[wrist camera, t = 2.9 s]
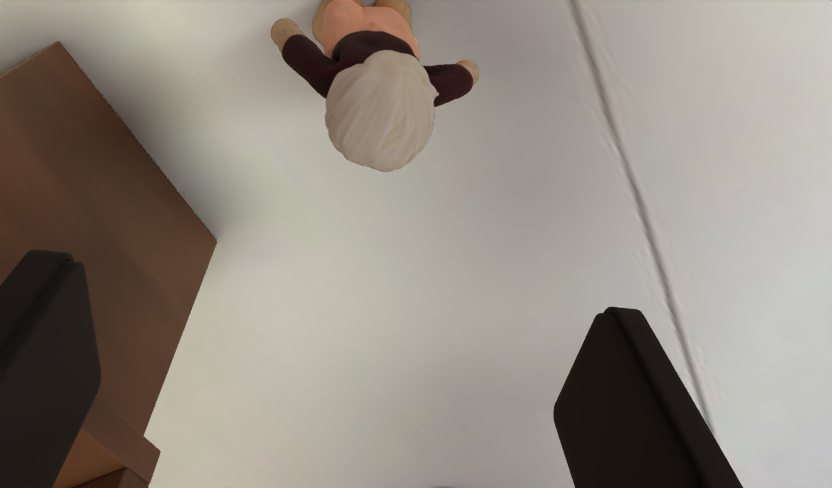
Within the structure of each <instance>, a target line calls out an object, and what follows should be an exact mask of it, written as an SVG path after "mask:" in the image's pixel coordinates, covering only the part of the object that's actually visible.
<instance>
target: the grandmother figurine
mask: <svg viewBox="0 0 832 488" xmlns="http://www.w3.org/2000/svg"><path fill="white" fill-rule="evenodd" d="M312 30H313V34H314V36H315V38H316V39H317V40H318V41H319V42H320V43H321V44H322V45H324V50H325V54H326V56H325V55H324V54H323V53H322V51H321V50H320V49H319V48H318V47H317V45H316V44H315V43H314V42H312V41H311V40H310V39H308V38H307V37H306V36H305V35H304V34H303V33H302V32H301V31H300V30H299V28H298V27H297V25H296V24H295V23H294V22H293V21H291V20H289V19H280V20H278V21H276V22H275V23H274V24H273V26H272V29H271V37H272V39H273V41H274V43H275V44H276V45H277V46H278V48H279V50H280V51H281V53H282V57H283V59H284V60H285V62H286V63H287V64H288V65H289V66H290V67H291V68H292V69H293V70H294V71H296V72H297V73H298V74H299V75H300V76H302V77H303V78H304V79H305V80H306V81H307V82H308V83H309V84H310V85H311V86H312V87H313V88H314V89H315V90H316V91H317V92H318V93H319V94H320V95H321V96H323V97H324V98H326V110H327V111H326V115H325V122H326V127H327V129H328V130H329V131H328V132H329V138H330V140H331V142H332V143H333V145H334V147H335V148H336V149H337V150H338V151H339V152H341V153H342V154H343V155H344V157H345V158H346V159H347V160H349V161H352V162H354V163H357V164H359V165H362V166H368V167H371V168H373V169H376V170H379V171H382V172H389V171H393V170H396V169H400V168H401V167H403V166H404V165H406V164H407V163H409V162H410V161H411V160H412V159H413V158H414V157H415V156H416V155H417V154H418V152H420V151H421V150H422V149H423V148H424V147H425V145H426V144H427V142H428V139H429V138H430V136H431V133H432V128H433V123H434V117H435V109H434V107H437V106H439V105H443V104H445V103H448V102H450V101H452V100H455V99H458V98H460V97H462V96H464V95H465V94H467V93H468V92H469V91H470V90H471V88H472V86H473V85H474V84H475V83H476V82H477V80H478V78H479V69H478V67H477V66H476V64H475V63H473V62H472V61H469V60H462V61H459V62H458V63H456V64H449V65H447V64H445V65H435V66H422V65H421V64H420V58H419V51H418V45H417V42H416V39H415V38H414V36H413V34H412V32H411V19H410V7H409V5H408V3H407V1H406V0H378V1H377V2H376V4H375V7H368V6H366V7H362V2H361V0H324V1H323V3H322V4H321V6H320V8H319V9H318V11H317V13H316V15H315V17H314V19H313V22H312Z"/></svg>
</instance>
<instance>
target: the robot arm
mask: <svg viewBox="0 0 832 488" xmlns="http://www.w3.org/2000/svg"><path fill="white" fill-rule="evenodd" d="M100 382H101V367H100V360H99V354H98V348H97V342H96V335H95V329H94V323H93V316H92V310H91V304H90V297H89V291H88V285H87V278H86V272H85V267H84V265H83V263H81V262H75V261H74V258H73V256H72V255H71V254H70V253H67V252H57V251H47V250H37V249H33V250H30V251H29V252H27V253H26V254H25V256H24V257H23V258H22V259H21V261H20V262H19V263H18V264H17V266H16V267H15V268H14V269H13V271H12V272H11V273H10V274H9V275H8V277H7V278H6V279H5V280H4V282H3V283H2V284H1V285H0V488H52V487H53V485H54V483H55V481H56V479H57V477H58V474H59V472H60V470H61V468H62V466H63V464H64V462H65V460H66V458H67V456H68V454H69V451H70V449H71V447H72V445H73V443H74V441H75V439H76V437H77V435H78V433H79V431H80V428H81V426H82V424H83V422H84V420H85V418H86V416H87V414H88V412H89V410H90V408H91V405H92V403H93V401H94V399H95V397H96V395H97V393H98V390H99V387H100ZM554 422H555V426H556V429H557V432H558V435H559V438H560V442H561V445H562V448H563V451H564V454H565V457H566V460H567V463H568V467H569V470H570V473H571V476H572V479H573V482H574V485H575V488H743V487H742V485H741V483H740V481H739V480H738V478H737V476H736V474H735V473H734V471H733V469H732V468H731V466H730V464H729V462H728V461H727V459H726V457H725V455H724V454H723V452H722V450H721V448H720V447H719V445H718V443H717V442H716V440H715V438H714V436H713V435H712V433H711V431H710V429H709V428H708V426H707V424H706V422H705V421H704V419H703V417H702V415H701V414H700V412H699V410H698V409H697V407H696V405H695V403H694V402H693V400H692V398H691V396H690V395H689V393H688V391H687V389H686V388H685V386H684V384H683V383H682V381H681V379H680V377H679V376H678V374H677V372H676V370H675V369H674V367H673V365H672V363H671V362H670V360H669V358H668V357H667V355H666V353H665V351H664V350H663V348H662V346H661V344H660V343H659V341H658V339H657V337H656V336H655V334H654V332H653V330H652V329H651V327H650V325H649V324H648V322H647V320H646V318H645V317H644V315H643V314H642V312H641V311H639V310H637V309H628V308H618V307H608V308H607V309H606V310H605V311H604V313H599V314H597V315H596V317H595V318H594V321H593V323H592V325H591V327H590V329H589V331H588V334H587V336H586V338H585V340H584V342H583V344H582V347H581V349H580V351H579V353H578V355H577V357H576V360H575V362H574V364H573V366H572V368H571V370H570V373H569V375H568V377H567V379H566V381H565V383H564V386H563V388H562V390H561V392H560V394H559V396H558V399H557V401H556V403H555V406H554Z"/></svg>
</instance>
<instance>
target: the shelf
mask: <svg viewBox="0 0 832 488" xmlns="http://www.w3.org/2000/svg"><path fill="white" fill-rule="evenodd" d="M216 244H217V241H216V239H215V238H214V237H213V236H212V234H211V233H210V232H209V230H208V229H207V228H206V227H205V225H204V224H203V223H202V222H201V220H200V219H199V218H198V217H197V215H196V214H195V213H194V211H193V210H192V209H191V208H190V206H189V205H188V204H187V203H186V201H185V200H184V199H183V198H182V196H181V195H180V194H179V192H178V191H177V190H176V189H175V187H174V186H173V185H172V184H171V182H170V181H169V180H168V179H167V177H166V176H165V175H164V174H163V172H162V171H161V170H160V168H159V167H158V166H157V165H156V163H155V162H154V161H153V160H152V158H151V157H150V156H149V155H148V153H147V152H146V151H145V149H144V148H143V147H142V146H141V144H140V143H139V142H138V141H137V139H136V138H135V137H134V136H133V134H132V133H131V132H130V131H129V129H128V128H127V127H126V125H125V124H124V123H123V122H122V120H121V119H120V118H119V117H118V115H117V114H116V113H115V112H114V110H113V109H112V108H111V106H110V105H109V104H108V103H107V101H106V100H105V99H104V98H103V96H102V95H101V94H100V93H99V91H98V90H97V89H96V87H95V86H94V85H93V84H92V82H91V81H90V80H89V79H88V77H87V76H86V75H85V74H84V72H83V71H82V70H81V69H80V67H79V66H78V65H77V63H76V62H75V61H74V60H73V58H72V57H71V56H70V55H69V53H68V52H67V51H66V50H65V48H64V47H63V46H62V44H61V43H60V42H56V43H54V44H52V45H51V46H49V47H47V48H45V49H43V50H41V51H40V52H38V53H36V54H35V55H33V56H31V57H30V58H28V59H27V60H25V61H23V62H22V63H20V64H19V65H17V66H15V67H14V68H12V69H10V70H9V71H7V72H6V73H4V74H2V75H1V76H0V285H1V284H2V283H3V282H4V280H5V279H6V278H7V277H8V275H9V274H10V273H11V272H12V271H13V269H14V268H15V267H16V266H17V264H18V263H19V262H20V261H21V259H22V258H23V257H24V256H25V254H26V253H27V252H29V251H30V250H33V249H37V250H47V251H57V252H67V253H70V254H71V255H72V256H73V258H74V261H75V262H81V263H83V265H84V267H85V272H86V278H87V285H88V291H89V297H90V304H91V310H92V316H93V323H94V329H95V335H96V342H97V348H98V354H99V360H100V367H101V382H100V387H99V390H98V393H97V395H96V397H95V399H94V401H93V403H92V405H91V408H90V410H89V412H88V414H87V416H86V418H85V420H84V422H83V424H82V426H81V428H80V431H79V433H78V435H77V437H76V439H75V441H74V443H73V445H72V447H71V449H70V451H69V454H68V456H67V458H66V460H65V462H64V464H63V466H62V468H61V470H60V472H59V474H58V477H57V479H56V481H55V483H54V485H53V487H52V488H148V485H149V484H150V482H151V479H152V476H153V473H154V470H155V467H156V464H157V461H158V458H159V455H160V450H159V449H158V448H156V447H155V446H154V445H153V444H152V443H151V442H150V441H148V440H147V439H146V438H145V437H144V433H145V430H146V428H147V425H148V422H149V420H150V417H151V415H152V412H153V409H154V407H155V404H156V401H157V399H158V396H159V394H160V391H161V388H162V386H163V383H164V380H165V378H166V375H167V373H168V370H169V367H170V365H171V362H172V359H173V357H174V354H175V352H176V349H177V346H178V344H179V341H180V338H181V336H182V333H183V331H184V328H185V325H186V323H187V320H188V317H189V315H190V312H191V310H192V307H193V304H194V302H195V299H196V296H197V294H198V291H199V289H200V286H201V283H202V281H203V278H204V275H205V273H206V270H207V268H208V265H209V262H210V260H211V257H212V254H213V252H214V249H215V247H216Z"/></svg>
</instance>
